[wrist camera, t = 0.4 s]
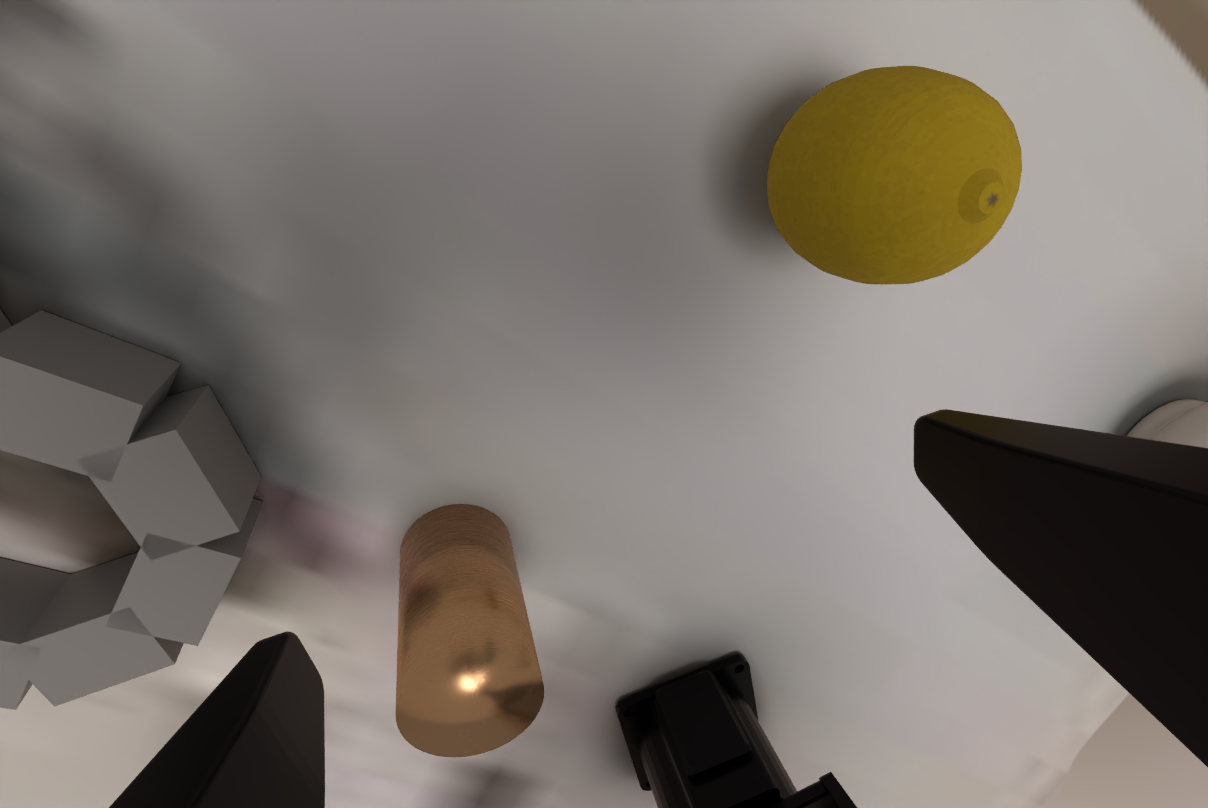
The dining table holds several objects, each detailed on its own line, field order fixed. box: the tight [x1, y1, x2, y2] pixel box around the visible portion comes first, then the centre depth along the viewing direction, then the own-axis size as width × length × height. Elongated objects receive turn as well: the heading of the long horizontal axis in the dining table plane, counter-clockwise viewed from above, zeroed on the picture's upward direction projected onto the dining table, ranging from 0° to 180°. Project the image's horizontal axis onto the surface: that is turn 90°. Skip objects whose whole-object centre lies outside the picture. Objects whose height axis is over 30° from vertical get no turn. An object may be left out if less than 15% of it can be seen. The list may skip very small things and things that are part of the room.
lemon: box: [767, 66, 1022, 284], centre depth 18 cm, size 6×6×8 cm
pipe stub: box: [396, 504, 544, 757], centre depth 21 cm, size 4×4×7 cm
